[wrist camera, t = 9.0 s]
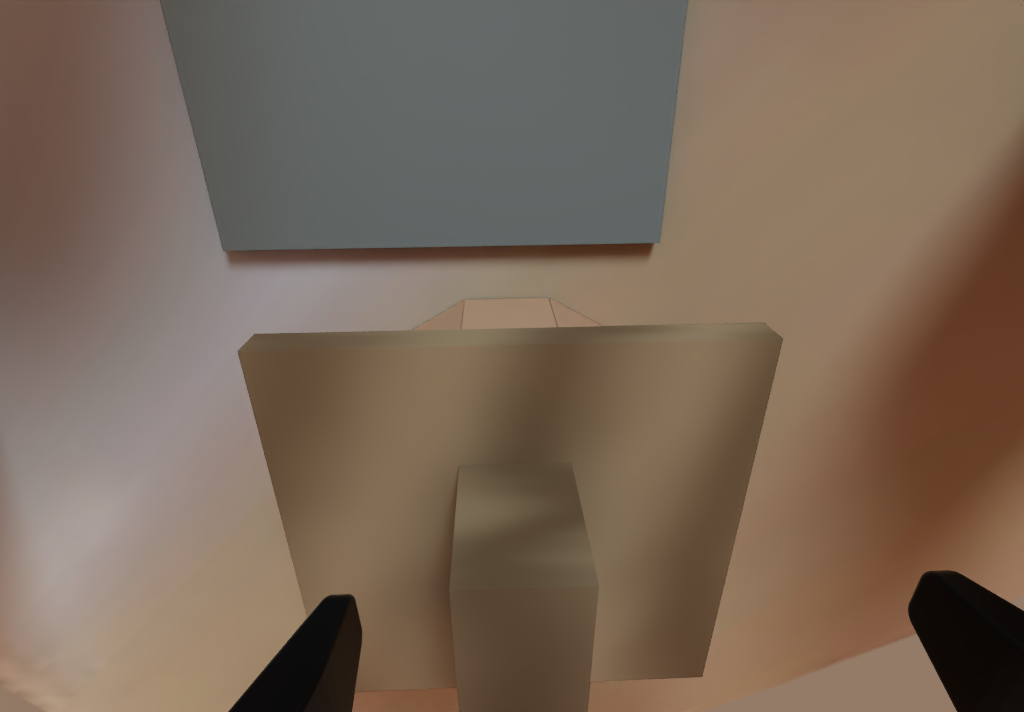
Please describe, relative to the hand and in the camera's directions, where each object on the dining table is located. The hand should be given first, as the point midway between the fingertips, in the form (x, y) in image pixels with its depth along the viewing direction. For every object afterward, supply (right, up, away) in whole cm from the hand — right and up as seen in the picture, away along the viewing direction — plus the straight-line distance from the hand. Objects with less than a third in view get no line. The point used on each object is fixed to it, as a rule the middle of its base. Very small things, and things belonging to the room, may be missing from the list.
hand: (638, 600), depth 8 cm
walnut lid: (-2, -1, +8) cm, 8 cm away
